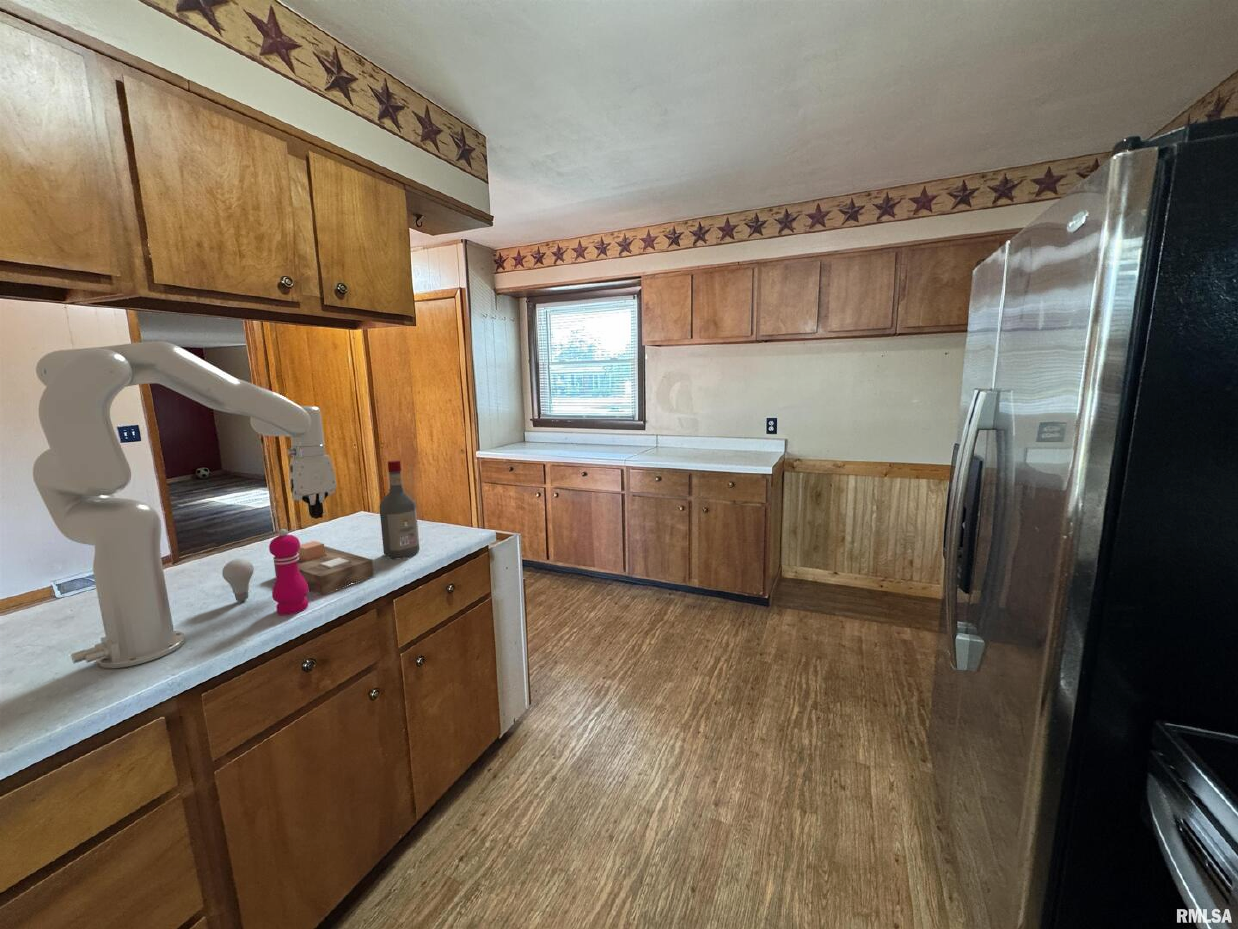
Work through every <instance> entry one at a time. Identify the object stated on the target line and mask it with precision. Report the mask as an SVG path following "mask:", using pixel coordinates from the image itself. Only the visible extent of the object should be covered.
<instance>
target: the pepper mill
mask: <svg viewBox="0 0 1238 929" xmlns="http://www.w3.org/2000/svg"><path fill="white" fill-rule="evenodd" d="M288 533H289V532H288V530H287V529H285V528H281V529H279V531H278V535H277V536H276V537H274V538H273V539H272V540H271V541H270V543H269V546H268V550H269V553H270V554H271V555H273V556H274V557H273V558H272V559H273V564H276V566H277V578H276V577H275V580H274V581H275V582H274V583H273V584H274V585H273V586H272V590H271V591H272V592H271V593H272V594H271V597H272V600H273V601H274V602H276V603H277V604H276V606H275V607H276V612H277V614H278V615H281V616H286V615H287V616H288V615H293V614H298V613H300V612H302V611H305V610H306V609H307V608H308V607H309V602H308V598H307V595H308V593H309V591H310V590H309V588H308V584H307V582H306V580H305V579H304V578H303V576H302V575H301V573H300V571H299V568H298V560H299V556H298V555H299V554H298V553H297V551H298V550H299V548H300V545H301V542H300V540H299V538H298V537H297V536H295V535H293V534H288ZM304 609H305V610H304Z"/></svg>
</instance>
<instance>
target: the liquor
mask: <svg viewBox="0 0 1238 929" xmlns="http://www.w3.org/2000/svg"><path fill="white" fill-rule="evenodd" d="M401 464H402V463H401V460H388V461H387V471H388V476H389V492H388V493H387V494H386V496H385V497H384V498H383V499H382V501H381V502H380V504H379V507H378V508H379V517H380V526H381V527H380V528H381V536H382V549H383V553H384V555H385V556H386V557H387V558H390V559H392V558H401V559H405V558H407V557H408V558H409V557H412V556H415V555H414V554H416V553H417V552H418V553H419V550H420V549H421V548H420V537H419V525H418V514H417V512H418V511H417V503H416V501H415V500H414V499H413V498H412V497H411V496H410V495H409V494H408V493H406V492H405V491H404V490H405V489H404V487H403V480H402V465H401ZM418 553H417V554H418ZM417 554H416V555H417ZM411 555H412V556H411Z"/></svg>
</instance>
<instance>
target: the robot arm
mask: <svg viewBox="0 0 1238 929" xmlns="http://www.w3.org/2000/svg"><path fill="white" fill-rule="evenodd" d="M35 373H36V376H37V379H38V380H39V381H40V382H41V383H42V384H43V385H44V386H45V388H44V390H43V391H42V394H41V396H40V399H39V403H38V419H39V422H40V423H39V424H40V425H41V429H42V430H43V433H44V436H45V438H46V441H47V444H48V445H49V448H48V449H47V450H44V451H43V452H42V453H40V455H39V456H38V457H37V458H36V460H35V461H34V463H33V467H32V477H33V481H34V485H35V486H36V488H37V491H38V492H39V495H40V497H41V499H42V501H43V503H44V505H45V506H46V509H47V511H48V514H50V517H51V518H52V521H53V522H54V524H55V526H56V527H57V529H58V530H59V532H60V533H61V535H62V536H64V537H65V538H66V539H69V540H71V541H72V542H75V543H77V544H82V545H87V546H88V545H89V546H94V557H93V565H92V572H93V580H94V585H95V590H96V593H97V599H98V604H99V610H100V612H101V613H100V614H101V620H102V625H103V629H104V634H105V636H104V637H100V642H99V643H96V644H94V647H91V648H90V647H89V648H88V649H87V648H86V649H83V650H79V651H76V652H72V653H71V655H70V657H71V661H72V662H73V664H77V663H80V662H83V661H85V662H86V664H88V663H90V662H94V661H97V662H98V665H99V666H100V667H101V668H105V669H120V668H126V667H127V668H128V667H133V666H137V665H141V664H144V663H147V662H150V661H154V660H156V659H159V658H162V657H165V656H167V655H168V654H170V653H172V652H174V651H175V650H178V649H179V648H180V647H181V646H183V644H184V643H185V642H186V634H185V633H184V632H182V631H177V630H174V624H173V618H172V613H171V606H170V601H169V595H168V590H167V584H166V578H165V572H164V568H163V562H162V552H161V551H162V550H161V540H162V539H161V538H162V522H161V518H160V515H159V513H157V511H156V509H154V508H153V507H152V506H151V505H149V504H147V503H145V502H143V501H139V500H135V499H131V498H122V497H115V495H114V494H116V493H119V492H122V490H124V489H125V488H126V487H128V485H129V484H130V482H131V479H132V469H131V467H130V464H129V462H128V459H127V457H126V455H125V452H124V450H123V448H122V446H121V442H120V441H119V439H118V436H117V434H116V432H115V430H114V426H113V424H112V423H113V422H112V420H111V407H112V404H113V401H114V400H115V398H116V397H117V396H118V394H119V393H120V392H122V391H123V390H124V389H125V388H128V387H132V386H138V385H144V384H157V385H162V386H164V387H165V388H168V389H170V390H172V391H174V392H177V393H178V394H180V395H183V396H185V397H187V398H188V399H191V400H193V401H195V402H198V403H199V404H201V405H203V406H205V407H207V408H209V409H213V410H216V411H220V412H224V413H230V414H235V415H240V416H245V417H249V418H250V426H251V428H252V429H253V430H254V431H255V432H256V433H258V434H260V435H262V436H267V437H288V438H289V437H290V443H291V446H290V449H287V450H286V454H287V456H292V458H290V461H289V475H288V476H289V485H290V486H289V488H290V492H291V494H292V495H291V499H292V500H294V501H302V502H303V503H306V504H307V506H308V515H309V516H310V518H313V519H316V520H317V519H319V518H320V519H322V518H323V517H324V505H323V504H324V502H325V500H326V498H328V496H330V495H334V494H335V493H336V488H337V480H336V479H337V478H336V473H335V469H334V467H333V466H334V465H333V462H332V459H331V457H330V455H329V454H326V448H325V447H326V445H325V436H324V428H323V427H324V426H323V419H322V412H321V411H322V410H320V408H319V407H318V406H315V405H299V404H297V403H295V402H293V401H292V400H290V399H288V398H286V397H285V396H283V395H281V394H279V393H277V392H274V391H272V390H269V389H267V388H264V387H261V386H258V385H256V384H254V383H251V382H249V381H246V380H243V379H240V378H237V377H235V376H233V375H231V374H229V373H228V372H226V371H223V370H222V369H220V368H218V367H217V366H215V365H213V364H211V363H209V362H207V361H206V360H204V359H202V358H200V357H199V356H197V355H195V354H193V353H192V352H189V351H188V350H187V349H184V348H182V347H180V346H179V345H176V344H175V343H171V342H169V341H167V342H166V341H143V342H142V341H139V342H132V343H131V342H130V343H124V344H123V343H122V344H115V345H108V346H106V345H105V346H97V347H96V346H95V347H94V346H93V347H85V348H72V349H63V350H62V349H59V350H54V351H51V352H48V353H46V354H45V355H43V356H42V357H41V358H40V359H39V360H38V362H37V363H36V367H35Z"/></svg>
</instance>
